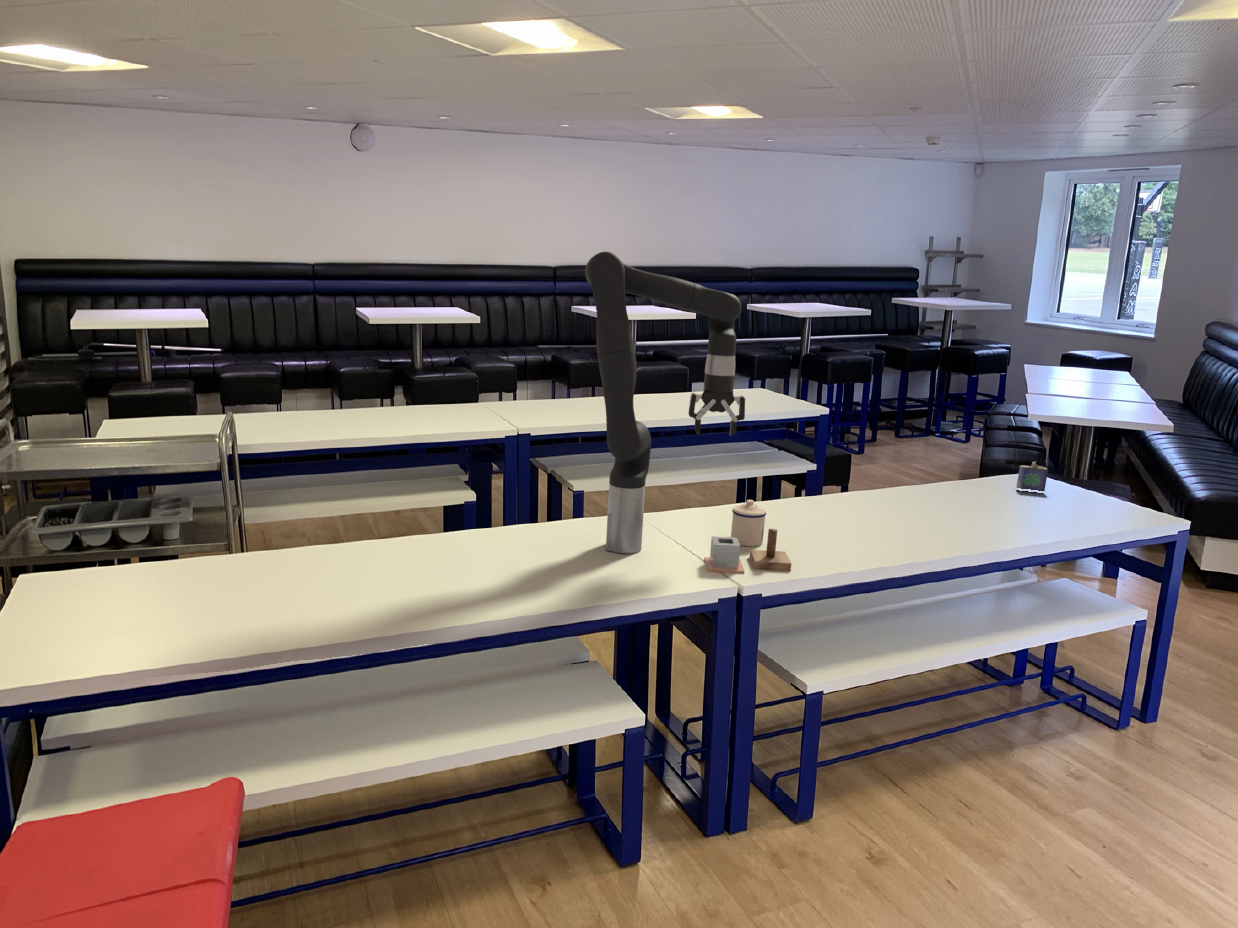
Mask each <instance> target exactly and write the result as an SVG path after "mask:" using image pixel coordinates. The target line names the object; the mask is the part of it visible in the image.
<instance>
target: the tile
mask: <svg viewBox="0 0 1238 928" xmlns="http://www.w3.org/2000/svg"><path fill="white" fill-rule="evenodd" d="M703 558H704V565H705V568H706V571H707V572H709V573H724V574H725V573H727V574H729V573H730V574H745V569H744V566H743V563H742V560H741V559H740V558H739V566H738V569H726V568H712V565H711V561H710V556H708V557H707V556H704V557H703Z"/></svg>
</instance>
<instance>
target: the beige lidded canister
mask: <svg viewBox="0 0 1238 928" xmlns="http://www.w3.org/2000/svg"><path fill="white" fill-rule="evenodd" d="M766 515H767V511H766V509H765V508H763V507H761V506H759V505H758V504H755V501H754V500H753V499H747V500H746V502H744V503H742V504H740V505H735V506H734V507H732V518H731V519H732V521H731V532H730V537H732V538H737V539H738V541H739V544H740V547H741V546H742V547H750V548H751V547H758V546H759V547H760V546H761V545H762V544H763V542H764V533H765V523H766V522H765V521H766Z"/></svg>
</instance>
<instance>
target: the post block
mask: <svg viewBox="0 0 1238 928" xmlns="http://www.w3.org/2000/svg"><path fill="white" fill-rule="evenodd" d="M767 531H768V532H767V540H766V541H767V544H766V550H764V549H763V550H762V549H750V550H749V559H750V562H751V564H752V566H753V569H754V570H763V571H765V570H766V571H767V570H768V571H783V572H787V571H788V572H791V571H792V562H791V560H790V557H788V555H787V553H786V551H785V550H784V551H782V550H776V547H777V538H778V529H775V528H768V530H767Z"/></svg>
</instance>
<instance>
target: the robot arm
mask: <svg viewBox="0 0 1238 928" xmlns="http://www.w3.org/2000/svg"><path fill="white" fill-rule="evenodd" d="M584 275H585V278H586V279H585V280H586V281H587V283H588V285H590V287H591V289H592V295H593V300H594V304H595V311H596V330H595V331H596V337H595V338H596V354H597V359H598V367H599V368H598V369H599V373H600V379H601V385H602V386H601V387H602V393H603V398H604V406H605V420H606V421H605V424H606V443H607V444H606V445H607V447H608V450H609V452H610V454H611V455H612V456H613V457H614V458H615V459H614V464H613V467H612V469H611V471H610V473H609V478H608V479H609V481H608V483H609V484H608V499H607V501H608V502H607V503H608V504H607V517H606V518H607V521H606V534H605V535H606V536H605V551H606V552H608V551H609V552H613V553H618V554H635V553H638V552H640V551H641V550H642V547H643V546H642V544H643V527H644V509H645V497H646V496H645V495H646V480H647V477H648V473H649V469H650V462H651V461H650V458H651V447H652V438H651V433H650V431H649V428H648V427H647V425H645V424H644V423H643V422H641V421H640V420H639V421H638V420H636V415H635V414H636V413H635V409H634V408H635V406H634V395H635V394H634V393H635V389H636V382H637V361H636V360H637V359H636V353H635V352H636V351H635V346H634V339H633V334H632V328H631V323H630V321H629V315H628V311H627V304H626V294H630V295H633V296H638V297H643V298H646V299H649V300H652V301H654V302H658V303H661V304H663V305H667V306H669V307H671V308H672V307H673V308H676V309H680V310H683V311H687V312H690V313H696V314H700V315H701V316H702V315H704V316H705V317H708V331H709V332H708V333H709V335H708V342H707V343H708V344H707V345H708V346H707V354H706V360H705V367H704V381H703V392H702V394H697V393H695V392H692V393H691V394H690V400H689V408H688V416H689V417H690V418H692V419H694V427H693V428H694V431H695V432H696V434H697V435H701V428H702V427H701V425H702V417H704V416H705V415H706V414H707V413H708V412H711V413H716V412H718V413H724V412H727V414H728V416H729V417H730V418H731V420H730V424H729V436H730V437H734V435H735V434H736V433H737V427H738V426H737V425H738V424H737V423H738V422H740V421H744V420H745V418H746V417H745V416H746V415H745V414H746V413H745V412H746V398H745V396H743V395H739V396H735V395H734V387H735V386H734V385H735V374H736V351H737V335H736V332H735V324H736V323H735V322H736V321H735V320H737V319H738V318H739V316H740V315H741V314H742V309H743V308H742V302H741V300H740V299H739V298H738V297H737V296H736V295H735V294H732V293H729V292H726V291H721V290H716V289H712V288H708V287H705V286H703V285H701V284H699V283H694V282H692V281H688V280H685V279H682V278H678V277H674V276H669V275H662V274H659V273H654V272H653V273H652V272H649V271H646V270H641V269H638V268H635V267H633V266H631V265H628V264H626V263H624V262H623V261H622V260H621V258H620V257H619V256H618V255H617V254H616V253H613V252H611V251H601V252H599V253H596V254H594V255H593V256H592V257H591V258H590V259H589V260H588V261H587V262H586V265H585V270H584ZM700 400H702V401H701V402H703V405H702V406H701V408H700V409H699V410H698V411H697V412H695V408H696V403H698V402H699V401H700ZM734 402H736V405H738V414H737V415H736V414H735V413H734V411H733V410H732V408H731V406H732V404H733V403H734Z"/></svg>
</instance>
